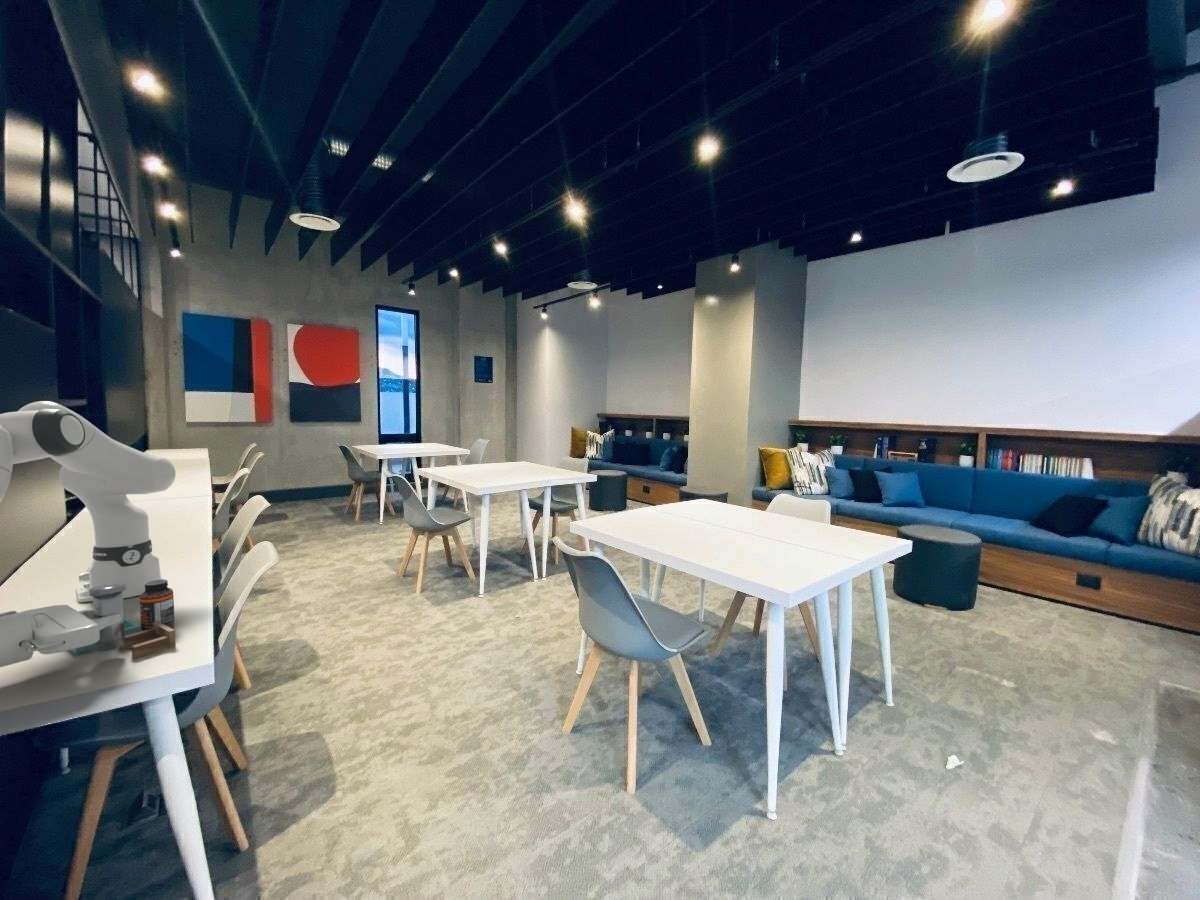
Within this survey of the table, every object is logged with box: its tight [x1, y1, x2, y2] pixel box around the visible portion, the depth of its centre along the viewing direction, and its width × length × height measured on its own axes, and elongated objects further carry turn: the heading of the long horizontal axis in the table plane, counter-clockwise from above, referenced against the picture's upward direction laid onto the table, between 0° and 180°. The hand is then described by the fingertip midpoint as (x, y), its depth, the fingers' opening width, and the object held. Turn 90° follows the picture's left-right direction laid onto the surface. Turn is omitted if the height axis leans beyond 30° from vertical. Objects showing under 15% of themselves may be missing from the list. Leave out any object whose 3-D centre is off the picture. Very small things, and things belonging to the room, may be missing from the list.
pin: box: [89, 583, 126, 652], centre depth 103 cm, size 5×5×12 cm
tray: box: [69, 615, 142, 656], centre depth 112 cm, size 11×11×3 cm
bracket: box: [118, 621, 176, 660], centre depth 108 cm, size 9×7×4 cm
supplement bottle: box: [139, 579, 175, 631], centre depth 118 cm, size 6×6×11 cm
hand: (114, 614), depth 104 cm, fingers closed on pin, 4 cm apart
